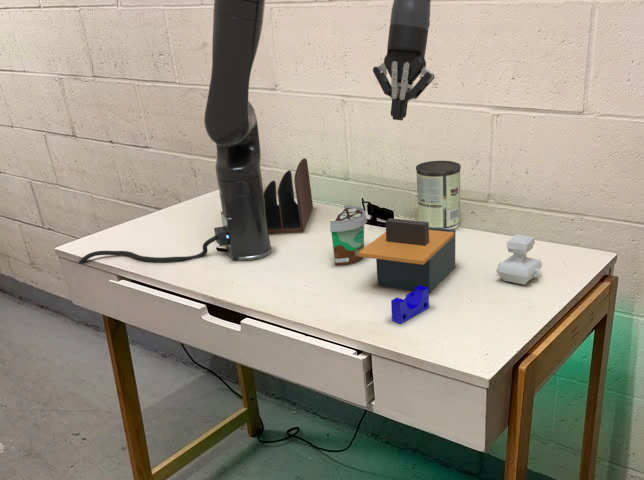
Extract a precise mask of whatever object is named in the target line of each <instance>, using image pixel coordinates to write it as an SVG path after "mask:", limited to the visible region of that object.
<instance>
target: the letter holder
mask: <svg viewBox="0 0 644 480" xmlns="http://www.w3.org/2000/svg"><path fill="white" fill-rule="evenodd" d="M292 175H293V174H292V171H291V170H290V169H289V170H287V171H285V173H284V174H283V175H282V177H281V179H280V182H279V184H278V187H277V183H276V181H275V180H271V181H270V182H269V183H268V184H267V186H266V187H265V189H264V190H263V193H264V200H265V208H266V216H267V223H268V231H269V234H287V233H289V234H290V233H291V234H292V233H293V234H294V233H304V231H305V229H306V226H307V224H308V222H309V219H310V216H311V213H312V211H313V208H314V204H313V196H312V195H313V194H312V187H311V180H310V172H309V166H308V160H307V158H305V157H303V158H302V159H301V160H300V161H299V163H298V165H297V167H296V170H295V172H294V178H293V176H292ZM293 179H294V180H293ZM293 182H294V185H293ZM294 189H295V193H294ZM295 195H296V196H295ZM295 197H296V200H295Z"/></svg>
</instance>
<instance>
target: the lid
mask: <svg viewBox="0 0 644 480" xmlns="http://www.w3.org/2000/svg"><path fill="white" fill-rule="evenodd" d="M453 237H454V232H447V231H437V230H429V222H423V221H418V220H412V219H404V218H403V219H402V218H394V217H393V218H392V217H390V218H388V219H387V220H385V232H384V233H382V234H381V235H379V236H378V237H377V238H375V239H374V240H373V241H371V242H370V243H369V244H367V245H366V246H364V249H362V250H361V251H359V252H358V256H359V257H364V258H367V259H375V260H376V259H382V260H390V261H398V262H406V263H414V264H422V265H424V264H425V263H426V262H427V261H428V260H429V259H430V258H431V257H432V256H433V255H434V254H436V253H437V252H438V251H439V250H440V249H441V248H442V247H443V246H444V245H445V244H446V243H447V242H448V241H450V240H451V239H452V238H453Z"/></svg>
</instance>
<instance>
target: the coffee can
mask: <svg viewBox="0 0 644 480" xmlns="http://www.w3.org/2000/svg"><path fill="white" fill-rule="evenodd" d="M461 167H462V165H461V164H460V163H459V162H456V161H453V160H431V161H424V162H421V163H419V164H417V165H416V166H415V172H416V198H417V199H416V201H417V203H416V204H417V221H423V222H429V227H432V228H442V229H451V230H456V229H458V228H459V227H460V226H461Z"/></svg>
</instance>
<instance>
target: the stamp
mask: <svg viewBox="0 0 644 480" xmlns="http://www.w3.org/2000/svg"><path fill="white" fill-rule="evenodd" d="M535 237H536V236H535ZM535 237H534V236H528V235H521V234H514V235H513V236H512V237H511V238H510V239H508V240H507V241H506V242H507V243H506V249H507V251H508V253H512V255H510V256H509V257H508V258H506V259H505V260H504V261H501V262H499V263H498V264H497V267H496V273H497V274H498V275H499V276H500V277H501V279H502V281H504V282H510V283H514V284H519V285H524V286H525V285H526V284H527V283H529V282H530V281H531V280H532V279H533V278H539V277H541V276H542V271H541V268H542V267H543V262H542V261H541V259H539V258H533V257H527V254H528V253H529V252H530V251H531V250H532V249H533V248H534V246H535V244H536V239H535Z"/></svg>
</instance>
